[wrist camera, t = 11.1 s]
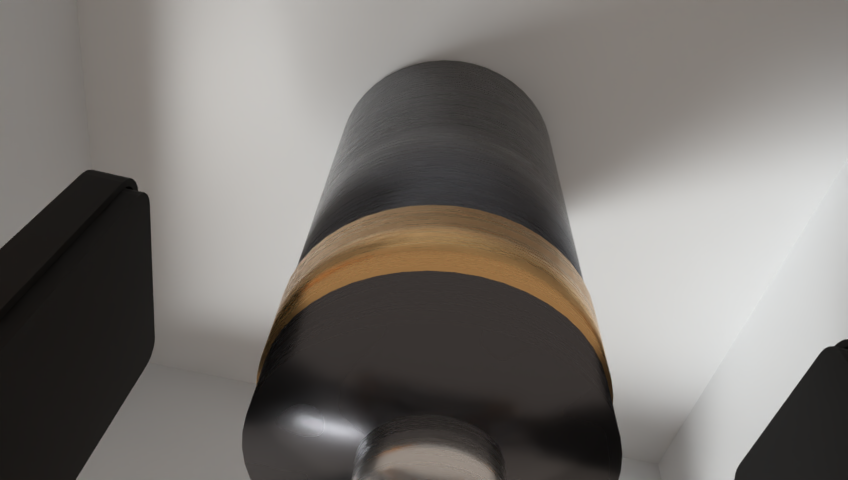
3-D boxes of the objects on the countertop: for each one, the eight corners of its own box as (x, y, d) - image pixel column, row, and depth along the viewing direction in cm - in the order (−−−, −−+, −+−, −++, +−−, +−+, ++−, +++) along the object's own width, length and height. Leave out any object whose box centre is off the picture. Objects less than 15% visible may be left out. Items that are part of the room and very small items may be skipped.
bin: (1112, -225, 10) (1548, -218, 6) (672, 463, 19) (721, 655, 15) (-4, -502, 9) (-403, -717, 5) (91, 347, 18) (-25, 514, 14)
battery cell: (575, 71, 12) (699, 394, 6) (532, 261, 14) (585, 642, 8) (340, 45, 12) (204, 341, 6) (334, 240, 14) (232, 605, 8)
